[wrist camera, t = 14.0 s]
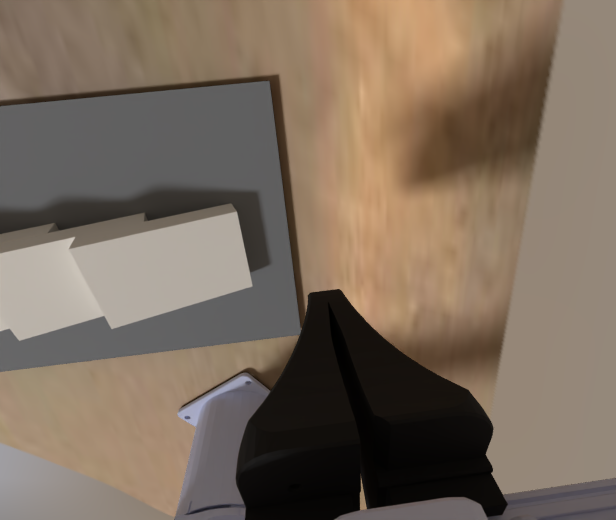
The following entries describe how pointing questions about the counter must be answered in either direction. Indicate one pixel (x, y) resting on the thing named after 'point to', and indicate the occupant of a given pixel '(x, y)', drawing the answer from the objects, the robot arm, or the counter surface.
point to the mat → (153, 204)
